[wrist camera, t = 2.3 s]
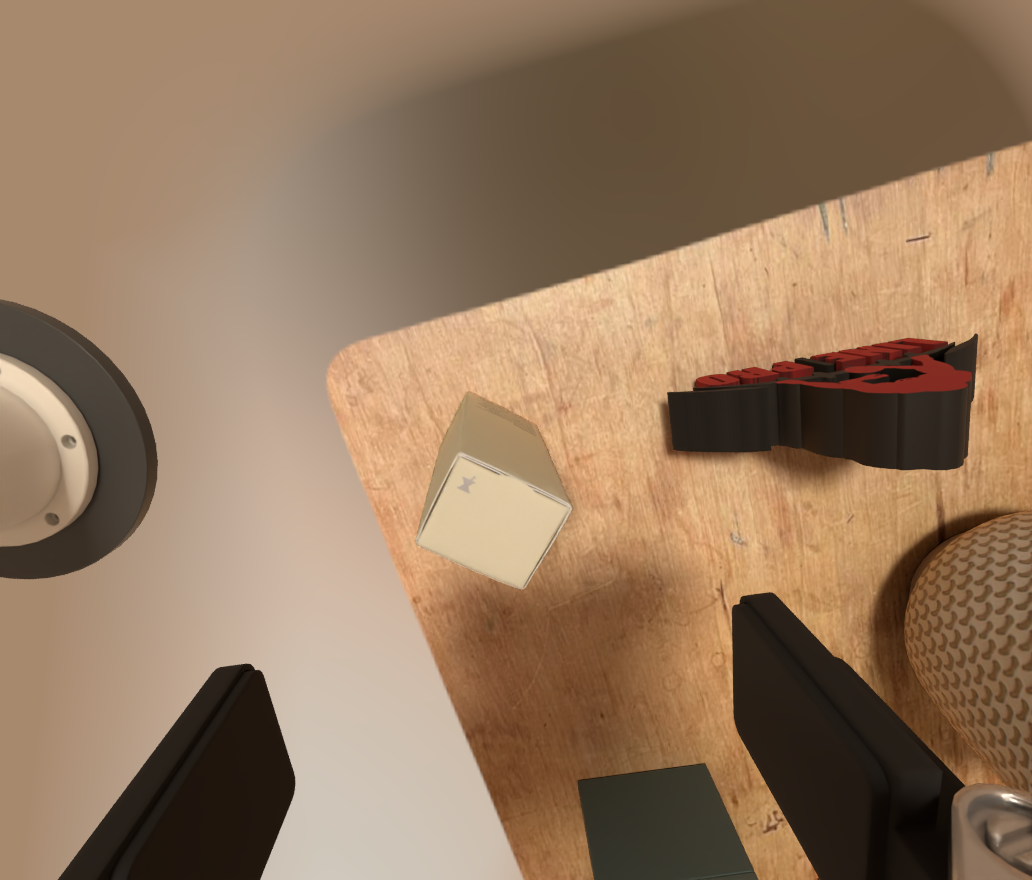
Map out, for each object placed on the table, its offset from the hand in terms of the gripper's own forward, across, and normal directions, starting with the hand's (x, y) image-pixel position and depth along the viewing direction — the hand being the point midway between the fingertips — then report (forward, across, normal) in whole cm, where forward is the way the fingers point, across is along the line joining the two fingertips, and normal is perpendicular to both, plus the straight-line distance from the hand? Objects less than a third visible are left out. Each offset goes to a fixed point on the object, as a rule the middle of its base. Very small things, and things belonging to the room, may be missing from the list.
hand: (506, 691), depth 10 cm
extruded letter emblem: (+23, -19, 0) cm, 30 cm away
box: (+23, +1, +1) cm, 23 cm away
